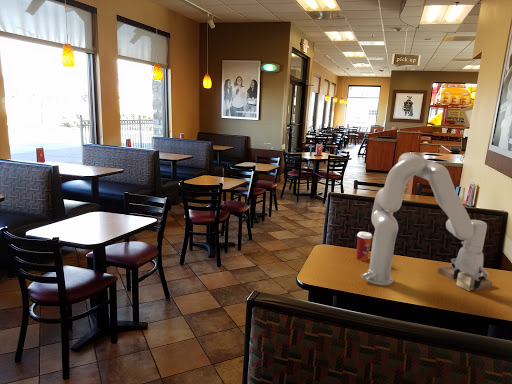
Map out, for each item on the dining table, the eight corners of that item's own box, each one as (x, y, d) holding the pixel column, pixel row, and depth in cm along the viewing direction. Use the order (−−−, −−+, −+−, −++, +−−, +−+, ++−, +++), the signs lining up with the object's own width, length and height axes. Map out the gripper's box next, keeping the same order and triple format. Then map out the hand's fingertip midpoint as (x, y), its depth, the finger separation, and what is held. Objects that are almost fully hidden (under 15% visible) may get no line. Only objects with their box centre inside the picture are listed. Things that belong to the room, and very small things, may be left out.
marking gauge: (489, 285, 172) (491, 273, 170) (468, 290, 165) (470, 278, 163) (476, 279, 177) (479, 267, 175) (456, 284, 170) (458, 272, 169)
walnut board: (491, 286, 171) (492, 281, 170) (476, 290, 166) (477, 285, 165) (452, 269, 188) (453, 264, 188) (437, 272, 183) (438, 267, 183)
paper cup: (366, 262, 190) (370, 237, 187) (352, 259, 194) (355, 233, 191) (371, 258, 197) (374, 233, 194) (357, 254, 201) (360, 230, 198)
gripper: (449, 242, 170) (443, 276, 174) (486, 256, 155) (479, 293, 159) (460, 240, 173) (453, 273, 177) (497, 253, 158) (489, 290, 162)
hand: (465, 283), depth 168 cm, fingers open, 9 cm apart
